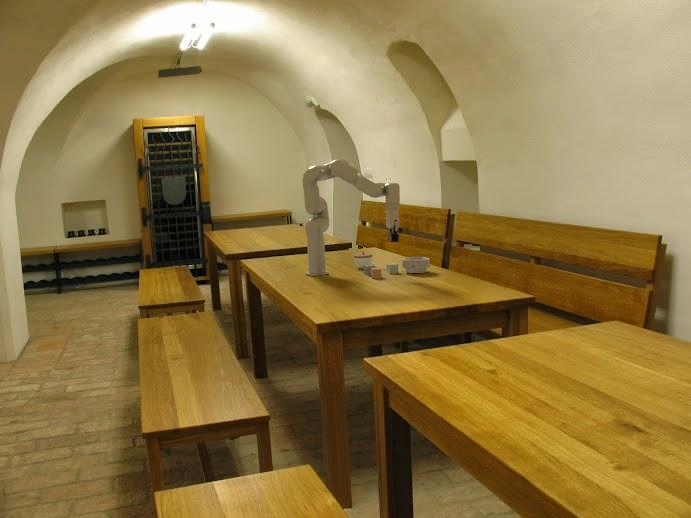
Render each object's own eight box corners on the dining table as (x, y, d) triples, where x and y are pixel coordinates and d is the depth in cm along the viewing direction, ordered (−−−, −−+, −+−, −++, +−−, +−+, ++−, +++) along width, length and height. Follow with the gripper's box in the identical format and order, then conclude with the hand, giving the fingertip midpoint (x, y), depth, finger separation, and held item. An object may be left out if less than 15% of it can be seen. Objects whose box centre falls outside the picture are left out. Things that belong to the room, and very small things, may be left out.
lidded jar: (376, 267, 411) (375, 251, 410) (366, 269, 402) (366, 253, 401) (360, 265, 417) (360, 250, 415) (350, 268, 408) (350, 252, 406)
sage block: (386, 272, 392) (386, 263, 391) (395, 271, 393) (394, 262, 393) (389, 273, 387) (389, 264, 386) (398, 273, 389) (398, 264, 388)
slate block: (363, 274, 389) (363, 265, 388) (371, 273, 391) (371, 264, 390) (367, 275, 384) (366, 266, 384) (375, 274, 386) (375, 265, 386)
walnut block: (387, 241, 378) (387, 231, 378) (396, 240, 379) (396, 231, 379) (390, 242, 374) (390, 232, 373) (399, 241, 374) (399, 232, 374)
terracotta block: (371, 277, 380) (371, 267, 379) (380, 276, 380) (380, 267, 379) (372, 278, 375) (371, 269, 374) (381, 278, 375) (381, 269, 374)
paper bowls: (422, 269, 398) (422, 255, 397) (434, 273, 384) (434, 259, 382) (397, 271, 393) (397, 257, 392) (408, 276, 379) (408, 261, 378)
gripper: (381, 205, 381) (382, 239, 384) (390, 208, 365) (391, 243, 367) (395, 205, 383) (395, 238, 385) (404, 207, 366) (405, 242, 369)
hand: (393, 240), depth 376 cm, fingers closed on walnut block, 5 cm apart
